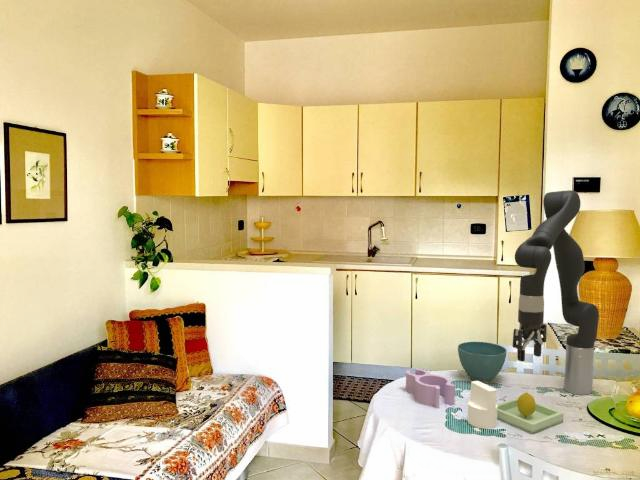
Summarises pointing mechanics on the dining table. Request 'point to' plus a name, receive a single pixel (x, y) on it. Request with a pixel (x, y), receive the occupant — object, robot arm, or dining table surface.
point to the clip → (429, 388)
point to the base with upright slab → (482, 406)
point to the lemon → (526, 404)
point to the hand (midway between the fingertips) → (529, 358)
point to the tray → (528, 417)
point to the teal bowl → (481, 360)
